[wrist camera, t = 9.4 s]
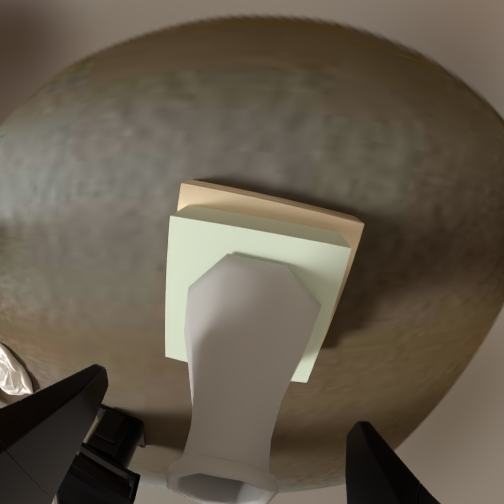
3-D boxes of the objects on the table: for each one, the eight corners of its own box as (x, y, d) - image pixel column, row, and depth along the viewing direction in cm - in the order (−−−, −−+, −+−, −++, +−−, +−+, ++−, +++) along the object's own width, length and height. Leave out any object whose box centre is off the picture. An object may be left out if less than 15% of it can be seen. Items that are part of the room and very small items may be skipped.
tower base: (308, 343, 23) (312, 367, 20) (177, 315, 23) (165, 335, 20) (352, 213, 19) (364, 224, 16) (195, 178, 19) (181, 183, 16)
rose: (-6, 394, 27) (-31, 347, 24) (8, 379, 31) (-14, 333, 28) (30, 417, 26) (2, 367, 23) (44, 399, 30) (20, 350, 27)
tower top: (303, 353, 19) (306, 382, 17) (179, 330, 20) (165, 356, 17) (339, 232, 16) (351, 248, 14) (188, 204, 17) (170, 215, 14)
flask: (344, 296, 14) (405, 468, 5) (272, 382, 17) (262, 531, 7) (220, 226, 14) (118, 373, 4) (166, 331, 16) (90, 472, 7)
